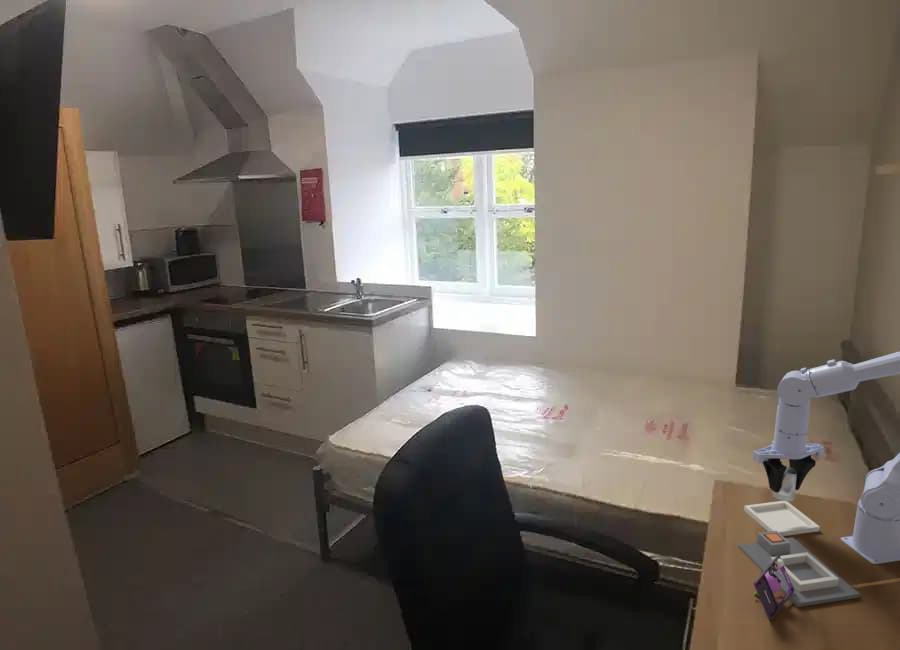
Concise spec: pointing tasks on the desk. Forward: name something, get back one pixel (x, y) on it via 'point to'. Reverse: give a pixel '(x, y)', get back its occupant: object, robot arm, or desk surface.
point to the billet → (787, 485)
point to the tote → (781, 518)
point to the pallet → (799, 571)
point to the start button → (773, 538)
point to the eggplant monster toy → (772, 587)
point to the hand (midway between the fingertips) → (784, 488)
